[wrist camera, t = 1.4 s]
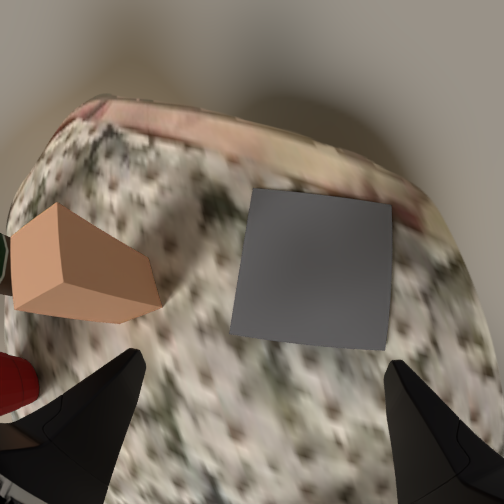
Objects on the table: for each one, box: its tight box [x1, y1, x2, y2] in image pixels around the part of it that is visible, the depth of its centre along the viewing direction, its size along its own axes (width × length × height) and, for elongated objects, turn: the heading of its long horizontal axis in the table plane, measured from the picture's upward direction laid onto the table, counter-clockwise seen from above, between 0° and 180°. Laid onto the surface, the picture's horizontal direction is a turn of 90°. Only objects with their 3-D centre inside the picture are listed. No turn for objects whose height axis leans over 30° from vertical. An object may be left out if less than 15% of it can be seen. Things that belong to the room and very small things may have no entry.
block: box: [11, 202, 162, 324], centre depth 19 cm, size 5×5×13 cm
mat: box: [229, 188, 392, 351], centre depth 23 cm, size 13×13×1 cm
